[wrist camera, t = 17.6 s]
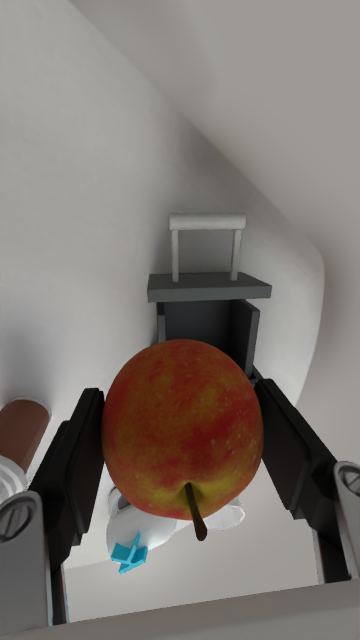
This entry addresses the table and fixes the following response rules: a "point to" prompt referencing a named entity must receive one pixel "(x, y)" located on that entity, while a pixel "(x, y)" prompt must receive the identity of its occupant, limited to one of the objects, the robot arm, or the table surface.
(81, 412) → the robot arm
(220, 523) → the cup
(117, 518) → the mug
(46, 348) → the table surface
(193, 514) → the fruit
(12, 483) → the coffee cup
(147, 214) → the table surface
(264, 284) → the grey drawer
